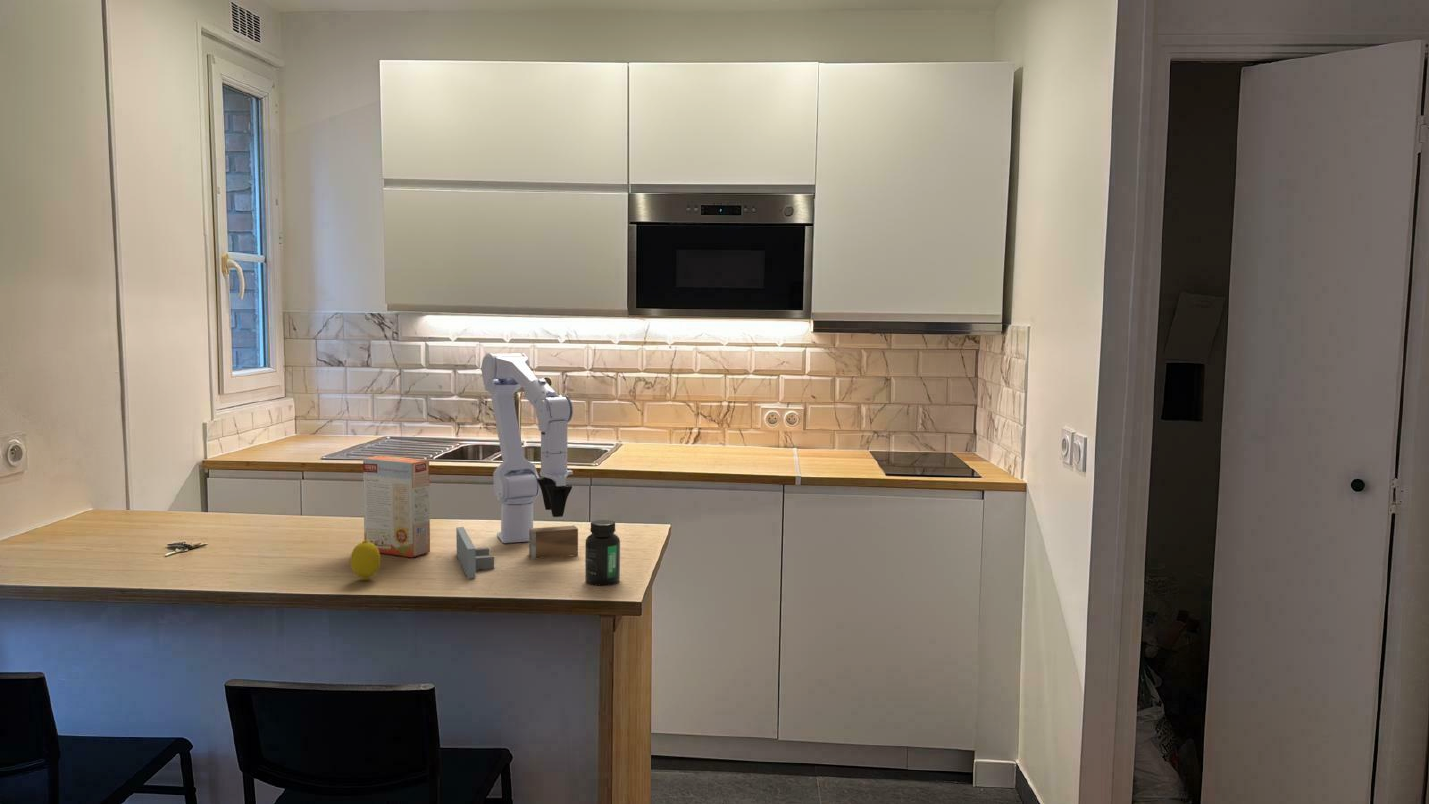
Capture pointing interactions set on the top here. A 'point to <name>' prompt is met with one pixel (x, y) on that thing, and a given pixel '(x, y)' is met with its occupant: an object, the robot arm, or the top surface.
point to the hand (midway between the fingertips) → (553, 513)
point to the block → (553, 541)
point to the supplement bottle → (602, 554)
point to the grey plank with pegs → (472, 554)
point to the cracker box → (397, 505)
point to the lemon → (365, 560)
